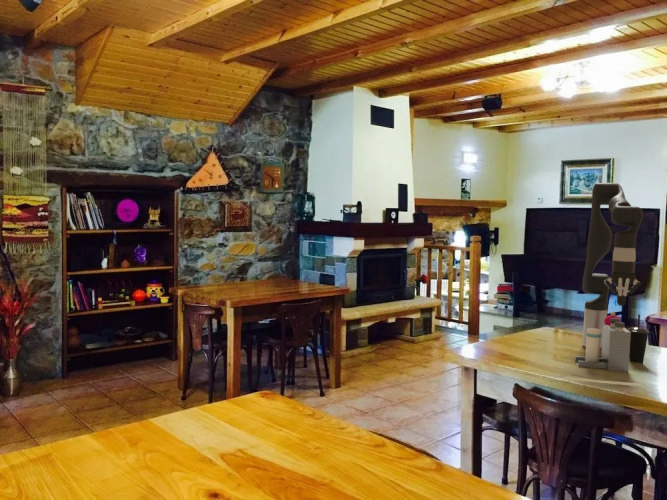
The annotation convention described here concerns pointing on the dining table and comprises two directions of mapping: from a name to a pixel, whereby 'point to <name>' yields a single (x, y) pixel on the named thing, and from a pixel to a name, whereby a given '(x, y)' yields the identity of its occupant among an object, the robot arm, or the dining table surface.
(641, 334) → the drinking cup
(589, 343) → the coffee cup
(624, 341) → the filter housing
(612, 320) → the plunger
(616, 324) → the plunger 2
